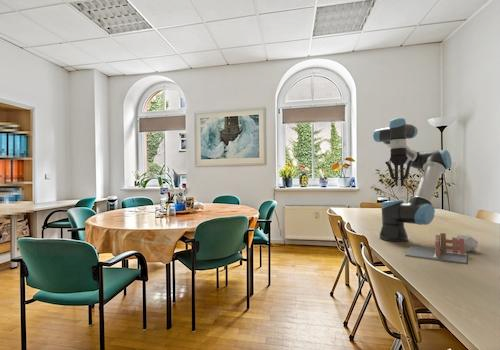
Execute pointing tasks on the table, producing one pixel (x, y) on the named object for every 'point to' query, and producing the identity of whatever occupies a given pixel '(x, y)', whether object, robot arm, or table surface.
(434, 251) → the card
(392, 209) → the robot arm
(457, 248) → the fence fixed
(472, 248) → the grey rounded lump
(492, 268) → the table surface
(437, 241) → the fence gate
